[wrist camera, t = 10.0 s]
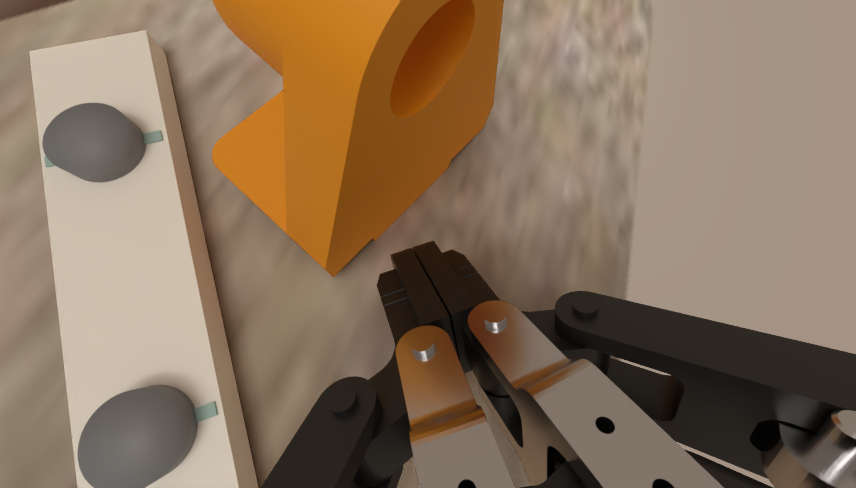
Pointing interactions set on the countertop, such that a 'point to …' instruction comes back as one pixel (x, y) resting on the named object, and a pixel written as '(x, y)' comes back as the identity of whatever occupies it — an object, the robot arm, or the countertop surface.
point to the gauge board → (133, 275)
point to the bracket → (357, 110)
